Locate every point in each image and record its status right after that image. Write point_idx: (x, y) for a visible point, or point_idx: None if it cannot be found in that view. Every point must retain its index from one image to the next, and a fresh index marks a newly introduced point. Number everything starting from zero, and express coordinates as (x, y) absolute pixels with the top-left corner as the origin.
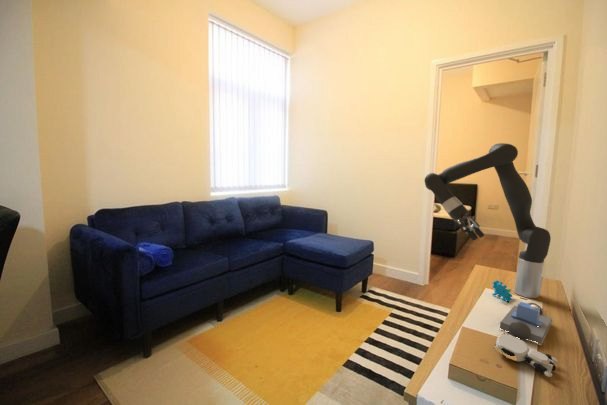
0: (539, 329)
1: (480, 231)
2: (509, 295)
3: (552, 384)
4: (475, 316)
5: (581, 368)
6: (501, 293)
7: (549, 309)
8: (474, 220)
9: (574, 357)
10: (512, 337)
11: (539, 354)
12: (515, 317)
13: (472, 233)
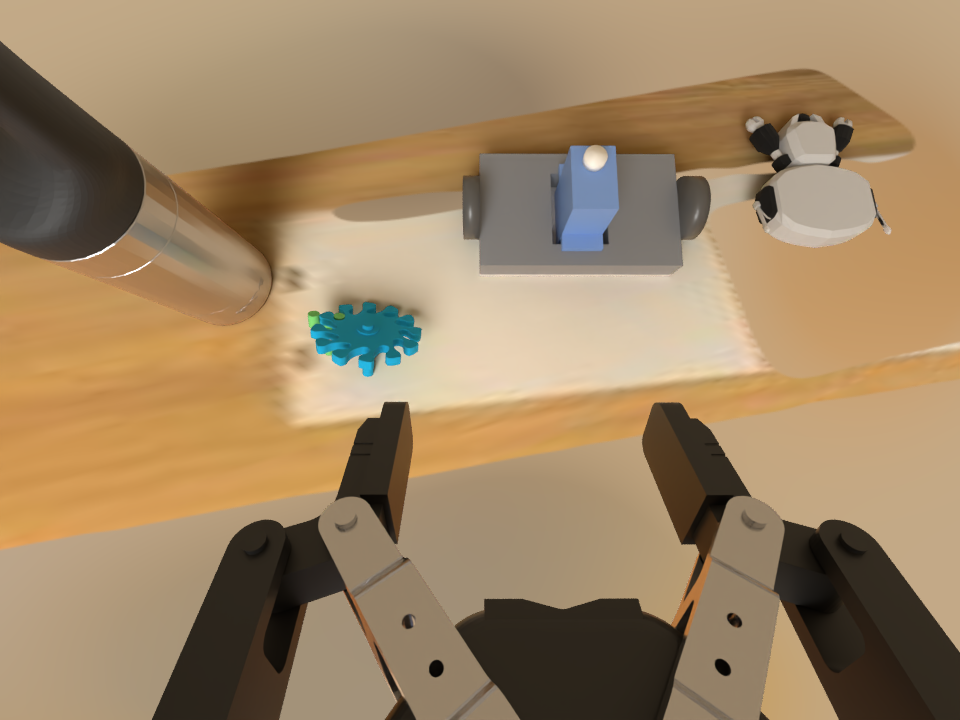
0: (621, 168)
1: (395, 457)
2: (350, 312)
3: None
4: (646, 360)
5: (693, 88)
6: (395, 329)
7: (331, 193)
8: (197, 701)
9: (647, 104)
10: (791, 205)
11: (813, 137)
12: (601, 237)
13: (725, 473)
